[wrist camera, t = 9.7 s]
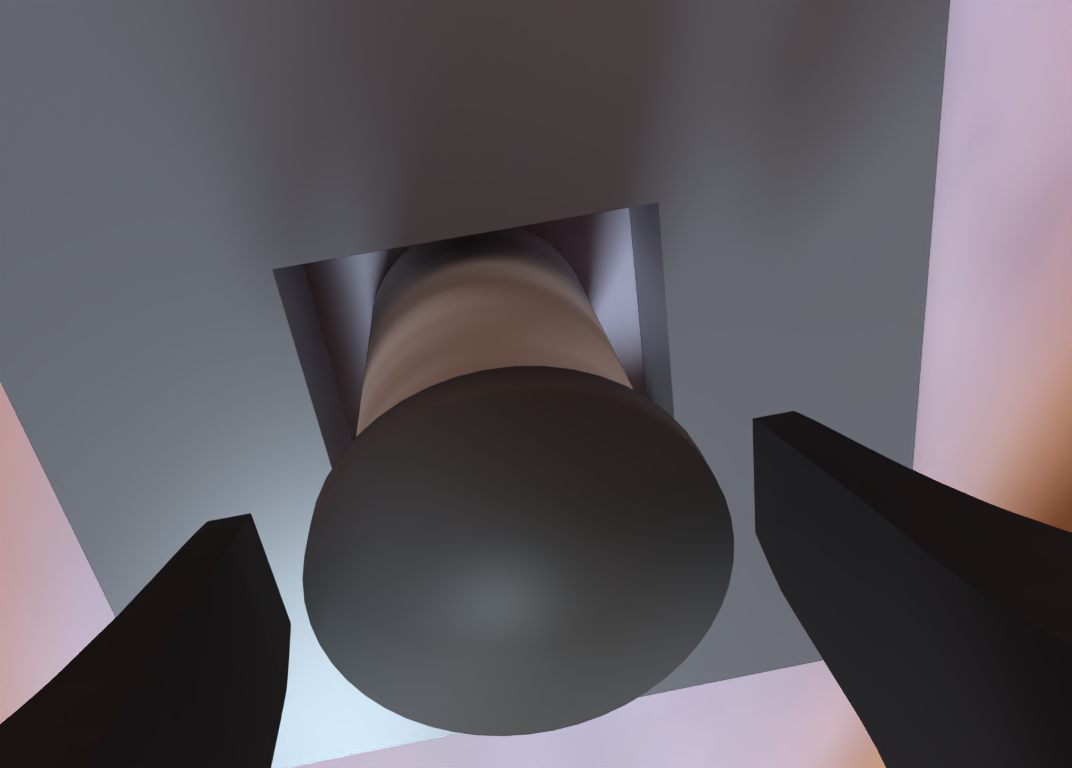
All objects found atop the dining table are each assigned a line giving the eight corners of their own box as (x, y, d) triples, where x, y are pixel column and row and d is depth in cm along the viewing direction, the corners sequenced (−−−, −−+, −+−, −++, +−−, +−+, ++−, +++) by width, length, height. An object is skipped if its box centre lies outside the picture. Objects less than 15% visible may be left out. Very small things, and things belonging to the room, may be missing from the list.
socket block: (221, 697, 21) (198, 786, 19) (-91, -14, 13) (-191, -8, 11) (848, 574, 22) (898, 644, 19) (879, -163, 14) (964, -186, 12)
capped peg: (384, 456, 18) (362, 769, 11) (322, 226, 16) (244, 439, 9) (618, 413, 19) (741, 691, 11) (591, 179, 16) (725, 349, 9)
